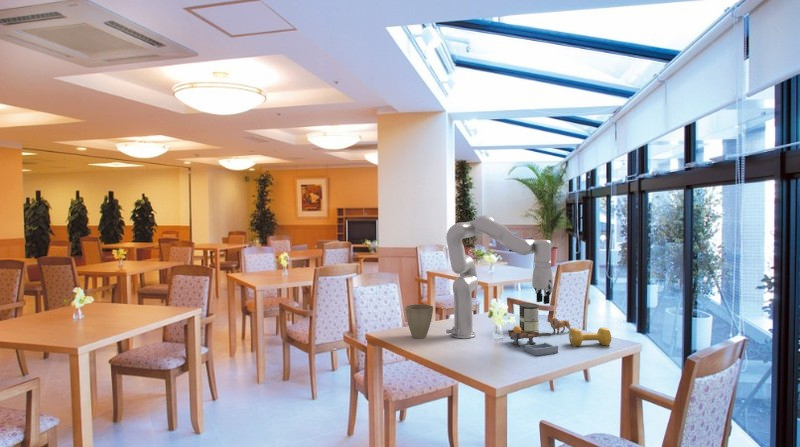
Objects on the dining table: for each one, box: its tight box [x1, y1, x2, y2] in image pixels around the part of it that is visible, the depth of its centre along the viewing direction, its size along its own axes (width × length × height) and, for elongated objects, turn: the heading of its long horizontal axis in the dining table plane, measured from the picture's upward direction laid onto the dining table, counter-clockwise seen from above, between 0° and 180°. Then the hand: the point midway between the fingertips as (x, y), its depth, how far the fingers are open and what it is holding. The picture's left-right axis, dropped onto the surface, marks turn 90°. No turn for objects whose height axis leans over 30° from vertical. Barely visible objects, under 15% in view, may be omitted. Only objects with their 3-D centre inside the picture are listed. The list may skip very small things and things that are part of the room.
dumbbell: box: [568, 327, 612, 347], centre depth 233 cm, size 19×9×8 cm, turn 91°
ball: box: [512, 325, 521, 333], centre depth 239 cm, size 4×4×4 cm
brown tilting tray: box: [507, 329, 552, 341], centre depth 236 cm, size 15×14×4 cm
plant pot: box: [404, 303, 434, 339], centre depth 251 cm, size 15×15×16 cm
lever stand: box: [510, 334, 537, 348], centre depth 234 cm, size 4×12×6 cm, turn 113°
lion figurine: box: [549, 317, 572, 335], centre depth 256 cm, size 15×5×9 cm, turn 122°
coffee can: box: [519, 302, 540, 332], centre depth 262 cm, size 10×10×14 cm
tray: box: [523, 342, 559, 357], centre depth 223 cm, size 10×12×3 cm
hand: (543, 302), depth 231 cm, fingers open, 4 cm apart
